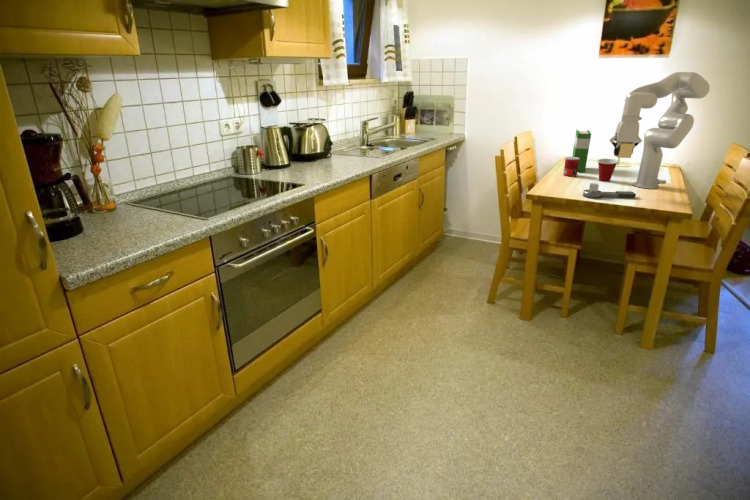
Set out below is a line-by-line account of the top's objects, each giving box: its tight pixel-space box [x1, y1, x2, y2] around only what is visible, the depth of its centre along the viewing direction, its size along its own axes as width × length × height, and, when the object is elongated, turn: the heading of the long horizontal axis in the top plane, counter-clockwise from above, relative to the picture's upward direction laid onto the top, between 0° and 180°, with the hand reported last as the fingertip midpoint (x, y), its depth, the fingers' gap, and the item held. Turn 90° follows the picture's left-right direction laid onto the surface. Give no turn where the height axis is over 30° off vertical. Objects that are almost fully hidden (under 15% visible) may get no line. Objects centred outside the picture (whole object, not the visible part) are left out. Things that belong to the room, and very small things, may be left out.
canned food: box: [562, 156, 580, 178], centre depth 275 cm, size 8×8×11 cm
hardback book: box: [571, 129, 592, 174], centre depth 288 cm, size 18×7×24 cm, turn 161°
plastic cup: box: [597, 158, 619, 183], centre depth 262 cm, size 11×11×12 cm
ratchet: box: [582, 182, 637, 200], centre depth 231 cm, size 24×9×6 cm, turn 83°
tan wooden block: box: [613, 142, 634, 159], centre depth 232 cm, size 6×6×7 cm
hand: (622, 155), depth 233 cm, fingers closed on tan wooden block, 6 cm apart
